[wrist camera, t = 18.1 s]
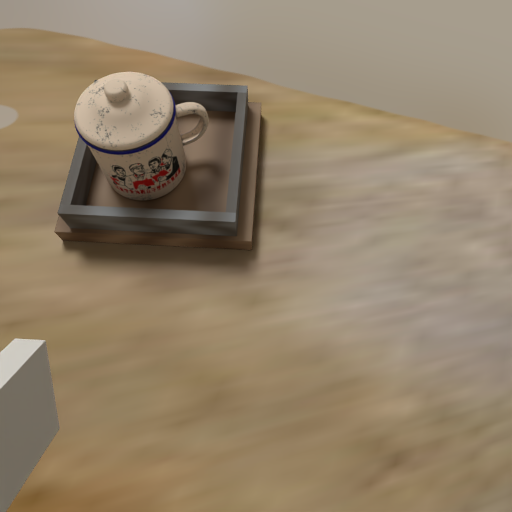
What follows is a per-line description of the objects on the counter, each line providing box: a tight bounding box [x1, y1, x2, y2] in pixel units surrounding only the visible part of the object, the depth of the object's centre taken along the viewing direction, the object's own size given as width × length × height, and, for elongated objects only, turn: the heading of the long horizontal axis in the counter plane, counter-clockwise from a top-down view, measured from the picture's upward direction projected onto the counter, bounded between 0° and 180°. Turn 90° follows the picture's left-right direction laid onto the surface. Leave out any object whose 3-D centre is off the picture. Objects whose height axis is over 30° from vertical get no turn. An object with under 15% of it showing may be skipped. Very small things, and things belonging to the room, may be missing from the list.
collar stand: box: [54, 80, 261, 250], centre depth 47 cm, size 20×18×5 cm
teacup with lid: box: [74, 72, 209, 200], centre depth 42 cm, size 12×9×12 cm
